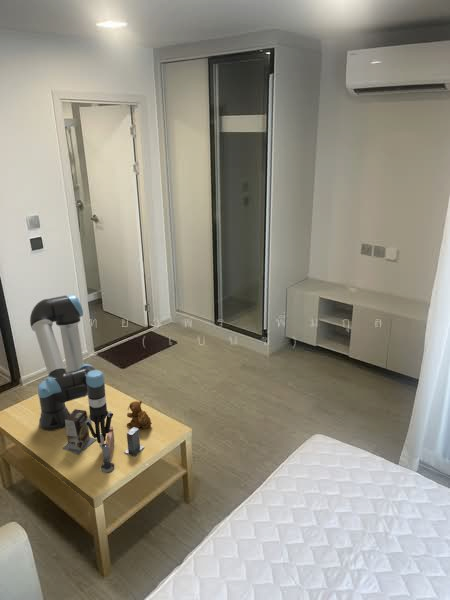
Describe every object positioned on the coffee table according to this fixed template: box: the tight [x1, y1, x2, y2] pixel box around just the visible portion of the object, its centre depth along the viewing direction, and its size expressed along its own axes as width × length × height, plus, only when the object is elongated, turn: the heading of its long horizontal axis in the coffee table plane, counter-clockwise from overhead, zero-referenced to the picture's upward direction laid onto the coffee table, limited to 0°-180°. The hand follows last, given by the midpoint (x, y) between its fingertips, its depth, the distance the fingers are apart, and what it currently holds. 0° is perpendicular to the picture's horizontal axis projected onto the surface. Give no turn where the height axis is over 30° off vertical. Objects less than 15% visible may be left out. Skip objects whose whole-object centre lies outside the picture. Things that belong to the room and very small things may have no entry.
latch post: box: [124, 427, 145, 458], centre depth 209 cm, size 6×7×11 cm
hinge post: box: [100, 443, 116, 474], centre depth 197 cm, size 6×6×12 cm
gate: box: [105, 426, 115, 463], centre depth 206 cm, size 15×2×8 cm, turn 6°
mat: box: [62, 436, 97, 456], centre depth 215 cm, size 10×12×1 cm
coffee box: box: [65, 409, 91, 450], centre depth 212 cm, size 9×6×16 cm
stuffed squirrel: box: [126, 400, 152, 430], centre depth 226 cm, size 10×14×13 cm
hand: (102, 447), depth 209 cm, fingers closed
